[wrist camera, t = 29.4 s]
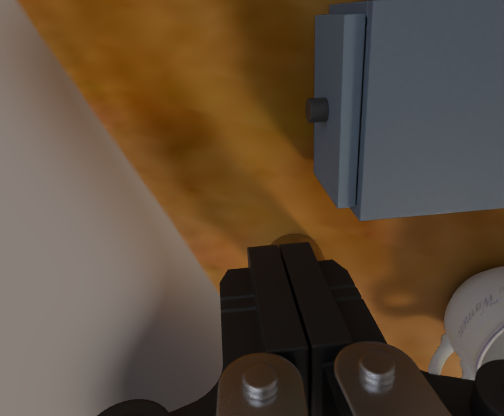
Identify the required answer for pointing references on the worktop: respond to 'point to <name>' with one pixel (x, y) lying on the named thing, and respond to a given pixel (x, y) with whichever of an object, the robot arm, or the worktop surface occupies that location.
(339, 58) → the drawer
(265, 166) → the worktop surface
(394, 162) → the cabinet
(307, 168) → the worktop surface
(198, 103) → the worktop surface
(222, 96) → the worktop surface
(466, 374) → the teacup
